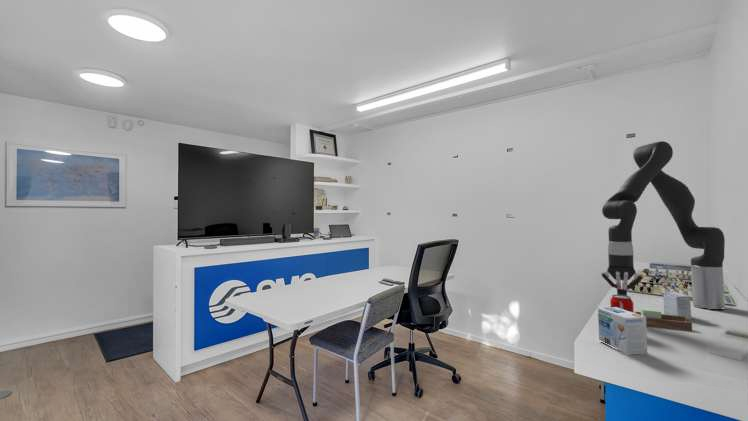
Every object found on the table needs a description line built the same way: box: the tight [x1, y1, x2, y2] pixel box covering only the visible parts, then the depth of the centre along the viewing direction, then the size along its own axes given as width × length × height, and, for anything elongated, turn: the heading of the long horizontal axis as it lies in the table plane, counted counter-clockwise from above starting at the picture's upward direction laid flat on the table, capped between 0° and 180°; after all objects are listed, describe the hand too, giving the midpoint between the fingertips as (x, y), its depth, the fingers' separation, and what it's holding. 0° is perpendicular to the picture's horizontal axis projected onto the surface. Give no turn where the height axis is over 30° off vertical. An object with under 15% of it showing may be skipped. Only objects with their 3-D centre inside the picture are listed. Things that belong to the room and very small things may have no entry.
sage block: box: [639, 306, 662, 319], centre depth 119 cm, size 5×5×5 cm
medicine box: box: [662, 291, 692, 321], centre depth 125 cm, size 8×4×9 cm, turn 168°
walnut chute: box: [634, 311, 693, 331], centre depth 117 cm, size 8×14×2 cm, turn 59°
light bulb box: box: [597, 306, 648, 356], centre depth 98 cm, size 11×7×11 cm, turn 5°
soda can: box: [609, 294, 635, 313], centre depth 111 cm, size 6×6×12 cm
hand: (622, 299), depth 123 cm, fingers closed
